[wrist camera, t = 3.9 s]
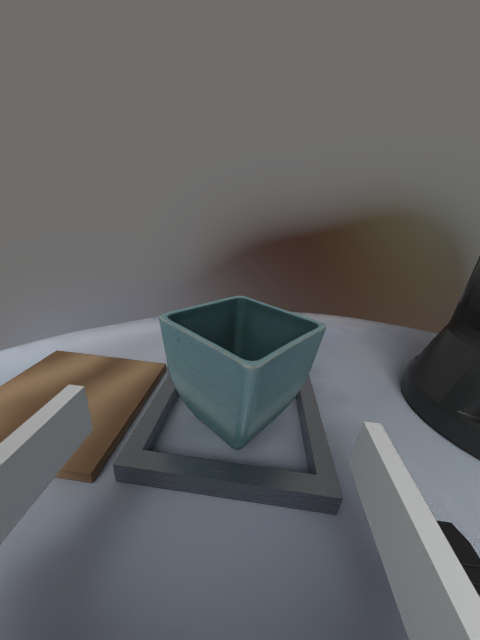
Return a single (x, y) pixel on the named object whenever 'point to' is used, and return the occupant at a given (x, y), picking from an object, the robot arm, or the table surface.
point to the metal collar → (233, 478)
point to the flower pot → (238, 362)
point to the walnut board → (102, 396)
